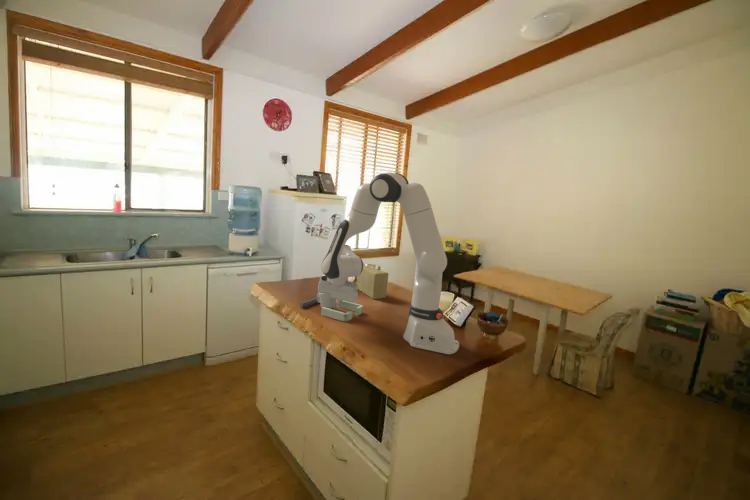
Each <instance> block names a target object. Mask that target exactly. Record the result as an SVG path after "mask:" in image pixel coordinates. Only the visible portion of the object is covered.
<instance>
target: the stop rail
mask: <svg viewBox="0 0 750 500" xmlns="http://www.w3.org/2000/svg"><path fill="white" fill-rule="evenodd" d="M319 299H320V297H319ZM318 303H319V302H318V301H317V296H315V297H312V298H310V299H307V300H304V301H301V302H300V309H302V310H304V309H305V308H308V307H310V306H313V305H315V304H318Z"/></svg>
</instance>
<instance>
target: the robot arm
mask: <svg viewBox="0 0 750 500" xmlns="http://www.w3.org/2000/svg"><path fill="white" fill-rule="evenodd" d="M371 179H372V180H371V181H370V183H367V182H366V183H363V184H360V185H359V187H357V190H356V193H355V195H354V197H353V201H352V205H351V207H350V208H351V209H350V211H349V212H348V214H347V216H346V217H345V218H344V219H343V220H342V221H341V222H339V225H338V226H337V229H336V232H335V233H334V236H333V239H332V240H331V241H332V242H331V244H330V247H329V249H328V252H327V253H326V255H325V257H324V258H323V261H322V263H321V271H322V273H323V274H322V275H319V281H318V285H317V294H319V292H320V293H324V294H326V293H331V298H332V303H333V307H334V308H336V309H340V308H341V307H340V303H341V302H342V300H343V301H347V302H351V303H356V302H357V301H358V298H359V297H358V296H359V293H358V291H359V290H358V285H357V284H356V283H357V282H354V281H350V280H349V278H351V277H352V278H354V277H355V278H356V277H357V276H359V275H360V274H361V272H362V270H363V265H364V261H363V259H362V258H361V257H360V256H359V255H357V254H356V253H354V252H353V251H352V249H351V245H348V244H346V243H347V241H349V240H350V239H351V238H352V237H354V236H356V235H358V234H362V233H364V232H367V231H368V230H370V229H372V227H373V226H375V225H374V224H375V223H376V220H377V216H378V213H379V209H380V205H381V203H396V202H397V203H398V204H399V205H400V206H401V210H402V212H403V218H404V219H405V220H404V221H405V223H406V226H407V230H408V233H409V238H410V242H411V245H412V248H413V252H414V256H415V260H416V261H415V271H414V282H413V289H412V297H411V303H409V304H410V305H409V310H408V321H407V324H406V328H405V331H404V333H403V335H402V338H403V339H404V340H405V341H406V342H407V343H408V344H409V345H410V346H411V347H413V348H417V349H421V350H426V351H430V352H431V351H432V352H435V353H441V354H445V355H453V354H455V353H457V352H458V351H459V348H460V342H459V341H458V340H456V339H455V331H454V328H453V327H451V325H450V324H449V323H448V322H447V321H446V320H445V319H444V318H443V317H444V313H445V311H444V309H443V310H442V309H441V308H440V302H441V301H440V300H441V295H442V288H443V287H442V284H443V282H442V281H443V272H445V269H446V268H447V265H448V257H447V254H446V250H445V248H444V244H443V241H442V238H441V236H440V232H439V229H438V226H437V221H436V218H435V213H434V211H433V207H432V204H431V201H430V199H429V196H428V194H427V192H426V189H425V188H424V186H423V185H422V184H421V183H416V182H412V183H409V180H408V179H407V178H406V176H405V175H404V174H401V173H399V172H395V173H394V172H384V173H379V174H377V175H375V176H374V177H373V178H371ZM336 300H337V301H336Z"/></svg>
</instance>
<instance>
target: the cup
mask: <svg viewBox="0 0 750 500" xmlns="http://www.w3.org/2000/svg"><path fill="white" fill-rule="evenodd" d="M316 297H317V301H318V303H320V308H321V309H322V307H325V308H329V309H332V310H334V308H335V307H333V303H332V298H331V293H326V294H324V293H320V292H319V294H318V293H317V294H316ZM319 297H320V299H319Z"/></svg>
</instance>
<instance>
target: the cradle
mask: <svg viewBox="0 0 750 500" xmlns="http://www.w3.org/2000/svg"><path fill="white" fill-rule="evenodd" d="M364 307H365V306H364V305H363V304H359V303H356V302H354V303H351V302H347V301H343V300H342V302H341V303H340V307H339V308H342V309H345V310H349V311H347V312H343V311H340V310H336V309H329V308H325V307H322V308H321V312H320V315H321V316H324V317H327V318H330V319H333V320H334V319H335V320H336V321H341V322H344V323H346V322H348V321H350V320H352V319H353V312H355V313H354V316H360V315H362V314H364Z"/></svg>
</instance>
